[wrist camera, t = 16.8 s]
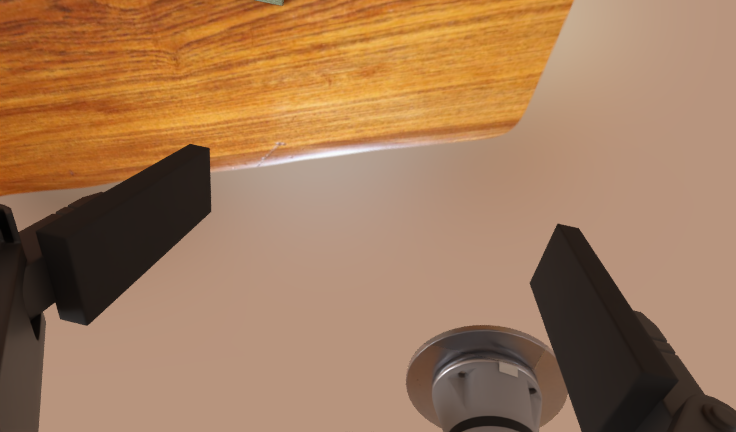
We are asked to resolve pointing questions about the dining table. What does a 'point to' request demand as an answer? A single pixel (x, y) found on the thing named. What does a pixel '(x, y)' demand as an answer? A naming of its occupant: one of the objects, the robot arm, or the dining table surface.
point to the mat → (273, 1)
